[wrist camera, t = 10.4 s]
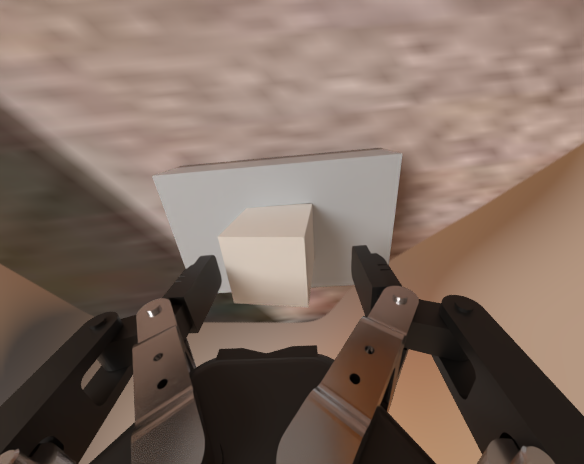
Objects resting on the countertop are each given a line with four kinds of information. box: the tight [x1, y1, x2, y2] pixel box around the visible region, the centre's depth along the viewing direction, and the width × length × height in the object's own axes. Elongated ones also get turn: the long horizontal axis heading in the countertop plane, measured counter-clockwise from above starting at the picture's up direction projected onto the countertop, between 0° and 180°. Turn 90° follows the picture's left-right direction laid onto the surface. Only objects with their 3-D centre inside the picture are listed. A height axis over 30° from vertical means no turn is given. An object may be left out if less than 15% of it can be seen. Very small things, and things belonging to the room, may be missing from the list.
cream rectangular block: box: [218, 203, 314, 308], centre depth 15 cm, size 4×4×8 cm
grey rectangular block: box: [152, 148, 403, 293], centre depth 18 cm, size 16×10×4 cm, turn 95°
